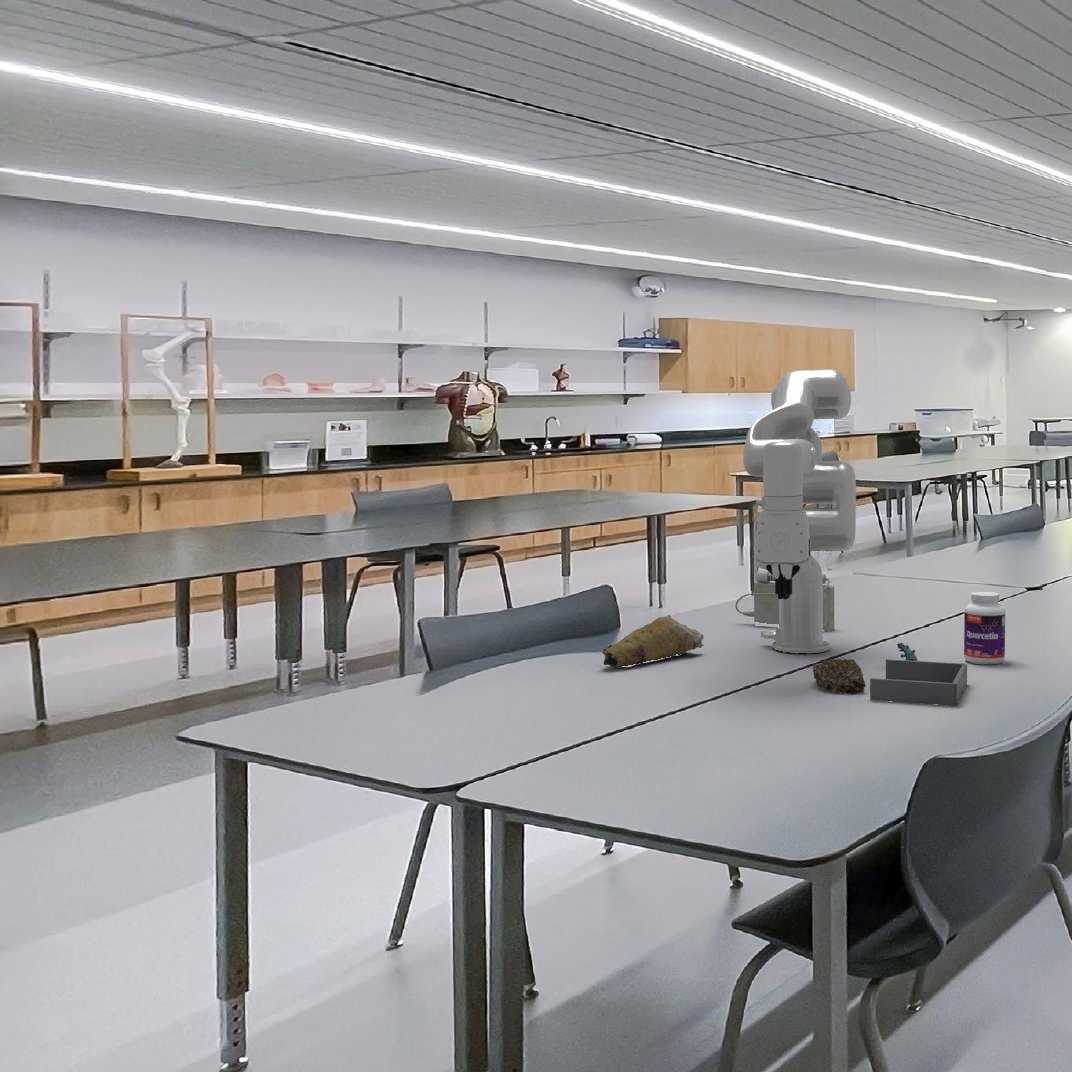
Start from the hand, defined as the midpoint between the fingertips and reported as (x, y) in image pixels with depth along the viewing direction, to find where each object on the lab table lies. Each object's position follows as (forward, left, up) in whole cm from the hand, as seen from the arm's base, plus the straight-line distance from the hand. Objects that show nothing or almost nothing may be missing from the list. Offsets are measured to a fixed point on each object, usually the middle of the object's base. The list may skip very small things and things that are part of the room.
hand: (783, 598), depth 245 cm
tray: (+25, 0, -17) cm, 31 cm away
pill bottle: (+34, +32, -17) cm, 50 cm away
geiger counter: (-15, +60, -17) cm, 64 cm away
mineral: (-33, +12, -17) cm, 39 cm away
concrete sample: (+11, -1, -17) cm, 20 cm away
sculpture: (+20, +21, -18) cm, 34 cm away
